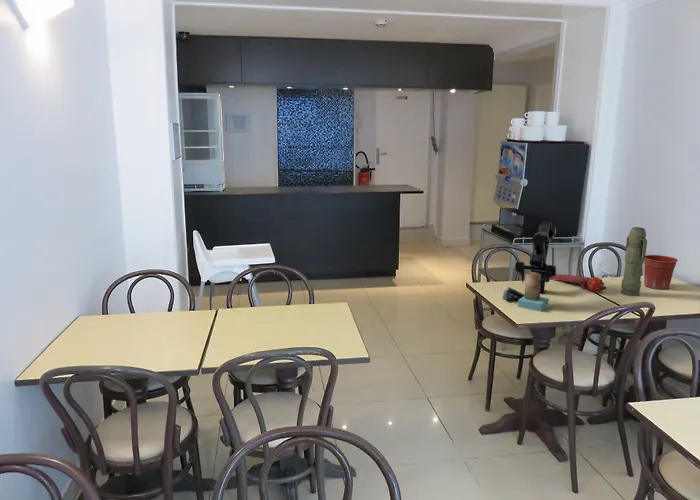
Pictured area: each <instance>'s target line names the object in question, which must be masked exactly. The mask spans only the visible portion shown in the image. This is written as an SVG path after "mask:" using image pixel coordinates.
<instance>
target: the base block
mask: <svg viewBox="0 0 700 500" xmlns="http://www.w3.org/2000/svg"><path fill="white" fill-rule="evenodd" d="M549 302H550V298H547V297H541V296H540V299H539V300H527V299H525V296H523V297H522V298H520V299H519V300H518V302H517V307H518V308H522V309H526V310H531V311H537V312H542V311H544V310H545V309H546V308H547V307H549Z"/></svg>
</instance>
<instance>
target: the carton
mask: <svg viewBox="0 0 700 500" xmlns="http://www.w3.org/2000/svg"><path fill="white" fill-rule="evenodd" d="M590 278H591V277H588V276H580V275H572V274H571V275H570V274H556V276H552V277H550V279H549V280H557V281H563V282H570V283H575V284H579V285H580V289H581V290H585V289H586V290H588V285H586V284H587V282H588V281H589V279H590Z"/></svg>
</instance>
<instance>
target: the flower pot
mask: <svg viewBox="0 0 700 500" xmlns="http://www.w3.org/2000/svg"><path fill="white" fill-rule="evenodd" d="M678 261H679V259H677V258H675V257H672V256H667V255H661V254H645V258H644V262H643V264H644V274H643V275H644V276H643V278H644V283H643V284H644V286H645V287H646V288H647V287H649V288H650V289H654V290H669V289H670V287H671V283H672V279H673V274H674V271H675V268H676V265H677V262H678Z"/></svg>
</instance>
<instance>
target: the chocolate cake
mask: <svg viewBox="0 0 700 500" xmlns="http://www.w3.org/2000/svg"><path fill="white" fill-rule="evenodd" d="M523 296H525V293H524V294H523V293H522V292H521V291H518V290H516V289H514V288H512V287H507V289H505V290H504V292H503V295H502V299H503V300H506V302H507V303H518V300H519V299H520V298H522V297H523Z"/></svg>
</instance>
